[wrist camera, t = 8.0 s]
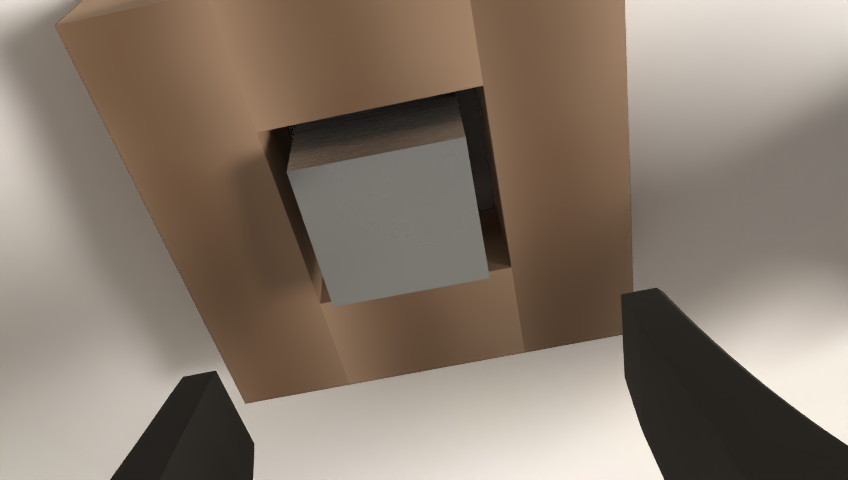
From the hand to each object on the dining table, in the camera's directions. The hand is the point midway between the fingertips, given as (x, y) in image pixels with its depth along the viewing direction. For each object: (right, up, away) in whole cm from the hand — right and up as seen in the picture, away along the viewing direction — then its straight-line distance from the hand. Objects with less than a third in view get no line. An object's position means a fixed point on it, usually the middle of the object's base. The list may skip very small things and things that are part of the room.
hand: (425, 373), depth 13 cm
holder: (-1, +5, +8) cm, 9 cm away
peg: (-1, +5, +8) cm, 10 cm away
